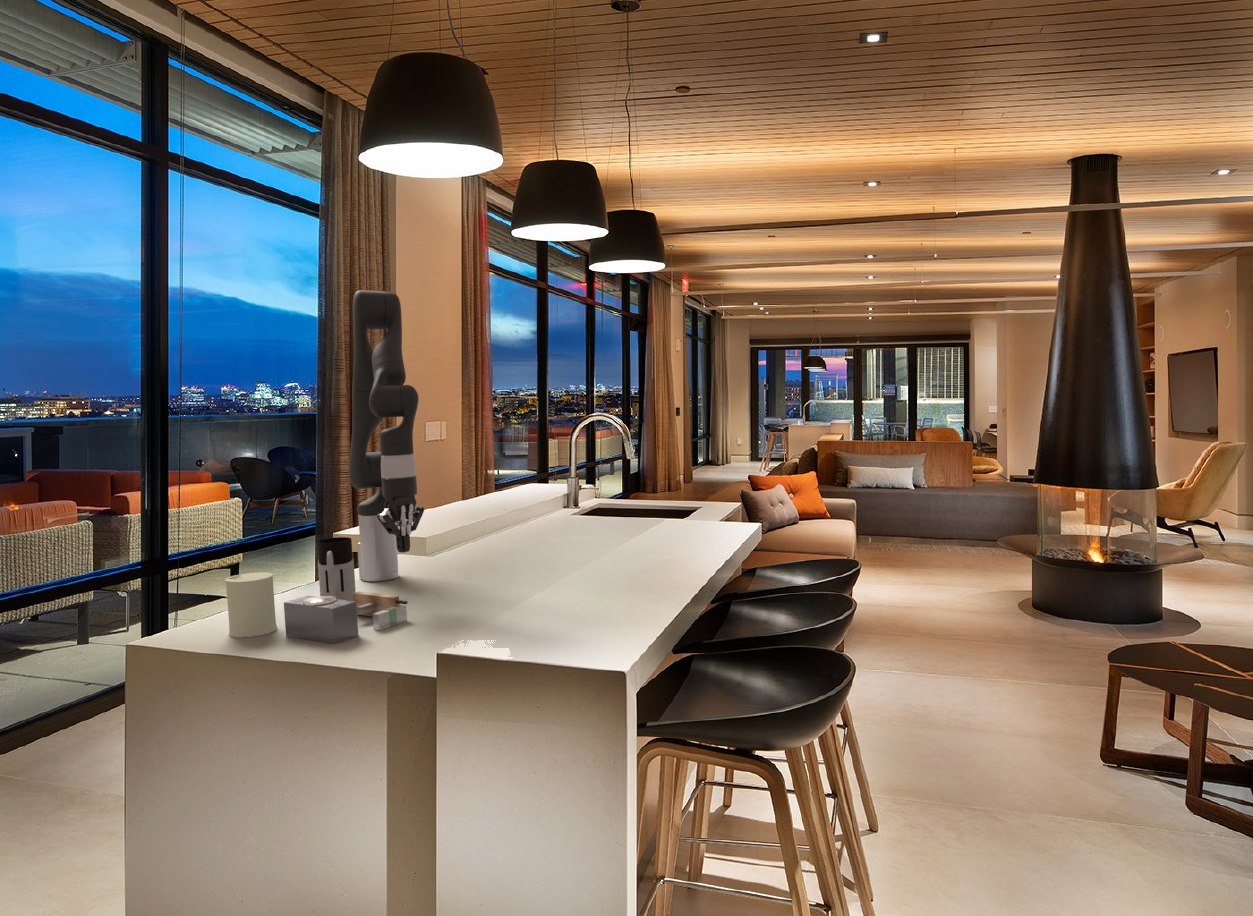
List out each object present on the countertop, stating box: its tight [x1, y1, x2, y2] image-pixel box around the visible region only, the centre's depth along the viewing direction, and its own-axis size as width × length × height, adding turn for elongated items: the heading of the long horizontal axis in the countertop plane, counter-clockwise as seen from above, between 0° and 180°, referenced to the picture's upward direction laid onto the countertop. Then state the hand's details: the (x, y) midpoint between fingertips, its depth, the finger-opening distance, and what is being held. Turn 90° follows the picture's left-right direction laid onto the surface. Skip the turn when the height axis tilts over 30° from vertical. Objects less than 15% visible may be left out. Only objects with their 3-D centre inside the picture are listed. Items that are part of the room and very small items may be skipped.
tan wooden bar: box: [353, 591, 408, 617], centre depth 183 cm, size 15×6×5 cm, turn 61°
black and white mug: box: [317, 536, 357, 601], centre depth 196 cm, size 9×14×15 cm, turn 10°
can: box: [224, 571, 278, 639], centre depth 178 cm, size 9×9×12 cm
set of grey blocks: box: [283, 595, 408, 645], centre depth 177 cm, size 15×19×7 cm
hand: (403, 551), depth 192 cm, fingers closed
